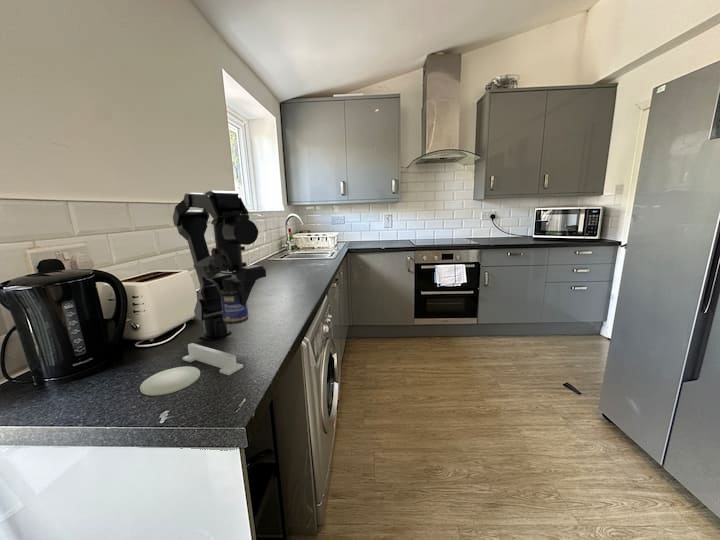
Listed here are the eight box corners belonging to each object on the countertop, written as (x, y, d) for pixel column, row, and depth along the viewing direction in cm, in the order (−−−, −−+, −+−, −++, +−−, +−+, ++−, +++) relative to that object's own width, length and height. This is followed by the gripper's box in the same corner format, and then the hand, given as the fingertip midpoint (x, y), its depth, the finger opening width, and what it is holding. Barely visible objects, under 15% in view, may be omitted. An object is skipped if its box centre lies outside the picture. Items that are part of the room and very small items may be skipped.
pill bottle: (224, 326, 73) (219, 282, 71) (222, 319, 79) (218, 278, 77) (250, 322, 76) (246, 279, 74) (247, 315, 81) (243, 275, 79)
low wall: (182, 359, 74) (180, 346, 73) (197, 353, 78) (196, 340, 77) (228, 375, 66) (227, 360, 65) (243, 367, 70) (241, 353, 69)
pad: (129, 387, 62) (129, 385, 62) (181, 364, 72) (181, 362, 72) (159, 401, 57) (158, 399, 57) (210, 374, 67) (210, 372, 67)
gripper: (173, 245, 71) (181, 308, 74) (225, 247, 62) (233, 318, 65) (214, 241, 81) (221, 297, 84) (265, 242, 72) (270, 304, 75)
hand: (234, 303), depth 76 cm, fingers closed on pill bottle, 6 cm apart
